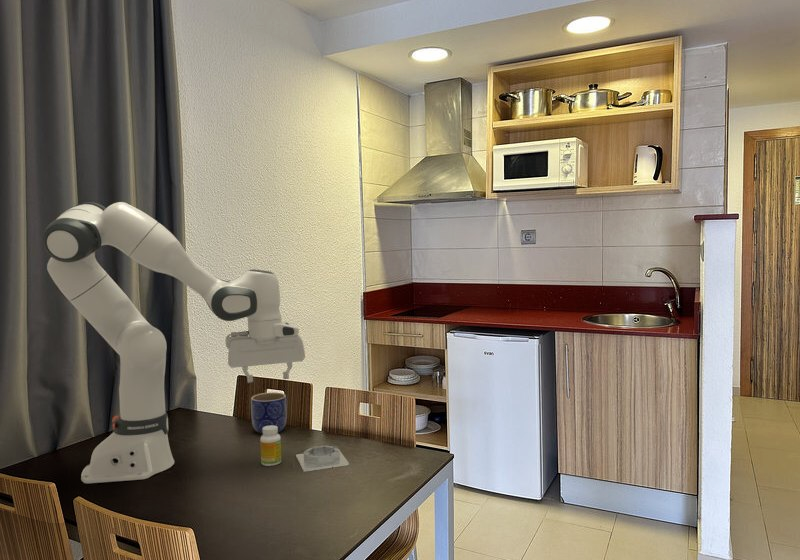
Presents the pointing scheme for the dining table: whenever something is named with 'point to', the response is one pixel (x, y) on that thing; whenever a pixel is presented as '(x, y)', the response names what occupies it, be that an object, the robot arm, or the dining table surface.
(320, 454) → the glass ashtray
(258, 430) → the planter
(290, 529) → the dining table surface
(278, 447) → the supplement bottle
